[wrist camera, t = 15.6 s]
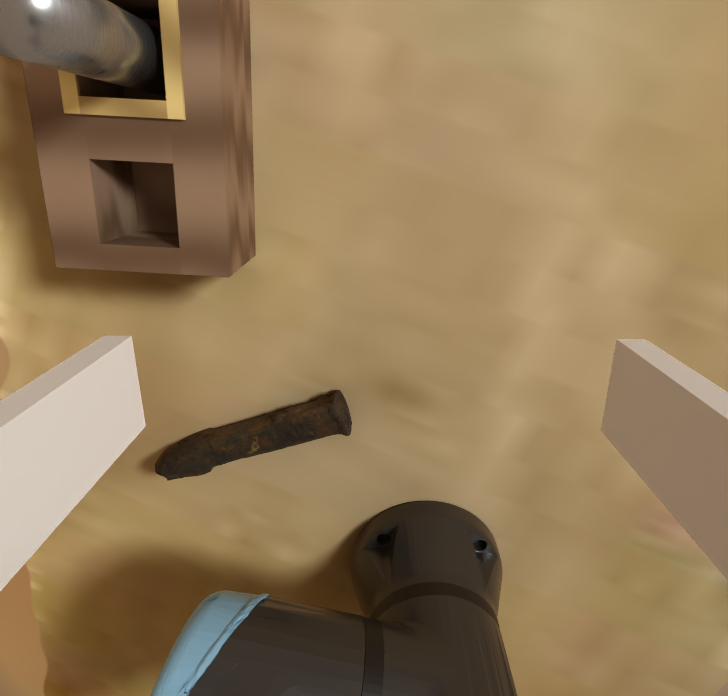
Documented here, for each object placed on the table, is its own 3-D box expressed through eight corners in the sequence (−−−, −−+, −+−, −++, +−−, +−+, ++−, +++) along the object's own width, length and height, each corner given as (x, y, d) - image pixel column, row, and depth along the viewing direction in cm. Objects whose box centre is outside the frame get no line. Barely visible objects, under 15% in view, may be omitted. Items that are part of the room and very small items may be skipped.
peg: (190, 96, 37) (62, 60, 22) (135, 94, 37) (-31, 56, 22) (186, 32, 36) (46, -53, 21) (128, 29, 36) (-53, -58, 21)
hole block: (255, 255, 43) (228, 278, 35) (111, 246, 43) (53, 268, 35) (249, 1, 36) (214, -39, 29) (80, -8, 37) (-1, -51, 29)
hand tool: (343, 381, 47) (339, 405, 43) (355, 419, 49) (352, 445, 44) (154, 426, 50) (132, 452, 45) (170, 461, 51) (150, 490, 47)
